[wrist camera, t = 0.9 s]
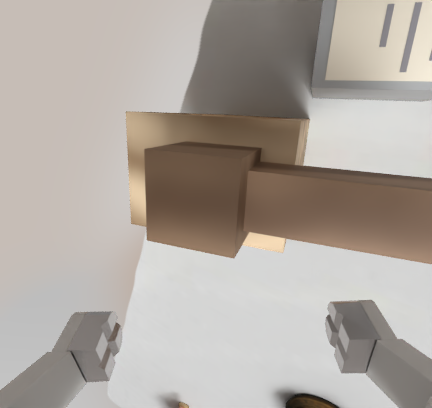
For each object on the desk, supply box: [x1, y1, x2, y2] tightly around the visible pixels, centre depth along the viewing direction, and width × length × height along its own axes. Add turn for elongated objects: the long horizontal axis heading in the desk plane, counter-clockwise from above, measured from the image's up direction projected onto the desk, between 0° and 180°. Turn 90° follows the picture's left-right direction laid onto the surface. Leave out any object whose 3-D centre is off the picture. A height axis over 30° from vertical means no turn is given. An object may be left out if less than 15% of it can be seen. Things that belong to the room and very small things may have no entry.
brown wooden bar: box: [144, 141, 432, 264], centre depth 18 cm, size 6×18×6 cm, turn 87°
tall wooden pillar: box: [126, 112, 310, 253], centre depth 35 cm, size 10×14×26 cm
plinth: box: [311, 0, 432, 101], centre depth 31 cm, size 8×14×16 cm, turn 87°
